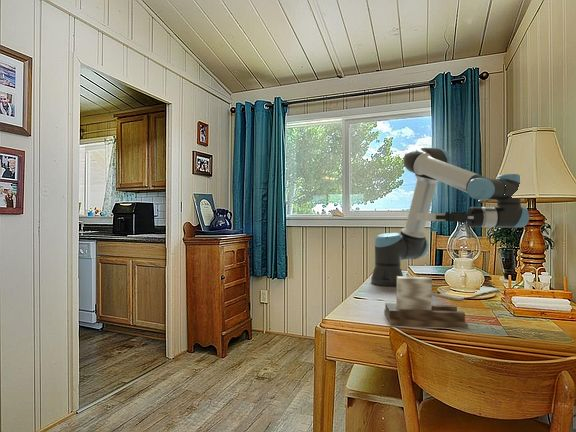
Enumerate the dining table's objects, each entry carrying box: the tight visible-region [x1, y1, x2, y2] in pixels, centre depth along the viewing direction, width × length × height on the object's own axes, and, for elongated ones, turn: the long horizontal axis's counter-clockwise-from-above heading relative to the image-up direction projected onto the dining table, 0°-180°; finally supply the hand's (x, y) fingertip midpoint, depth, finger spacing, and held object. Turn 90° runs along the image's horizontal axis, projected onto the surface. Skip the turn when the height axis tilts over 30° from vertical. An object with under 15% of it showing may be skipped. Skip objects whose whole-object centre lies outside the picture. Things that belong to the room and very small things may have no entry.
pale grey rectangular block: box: [395, 275, 433, 310], centre depth 118 cm, size 10×4×12 cm, turn 83°
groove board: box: [383, 302, 469, 329], centre depth 118 cm, size 22×14×4 cm, turn 83°
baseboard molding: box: [433, 283, 500, 302], centre depth 156 cm, size 31×3×12 cm
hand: (421, 216), depth 141 cm, fingers open, 13 cm apart
